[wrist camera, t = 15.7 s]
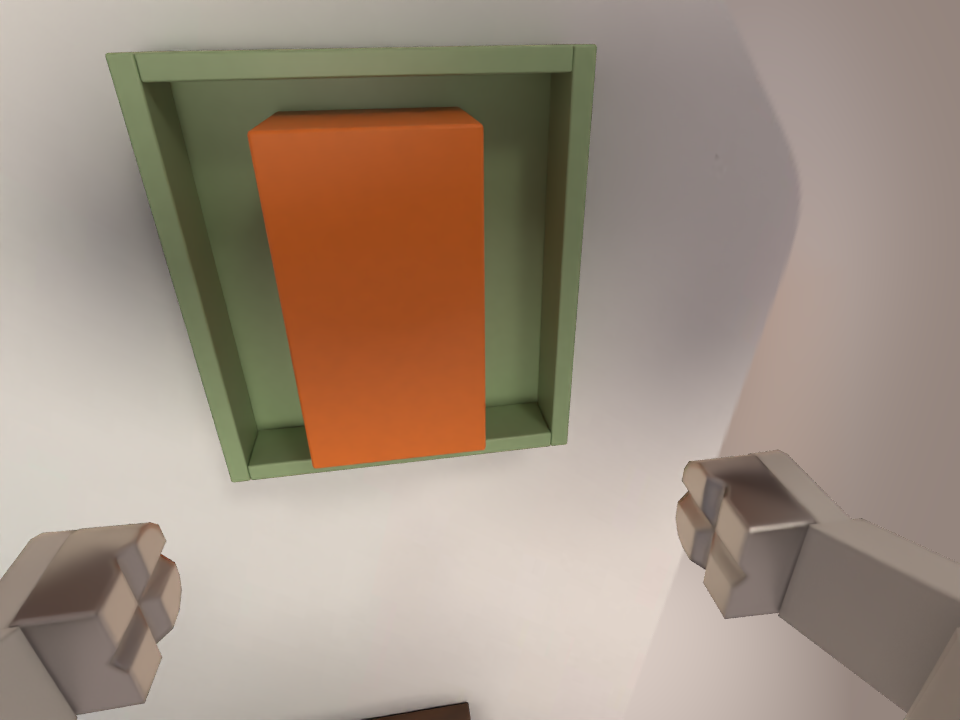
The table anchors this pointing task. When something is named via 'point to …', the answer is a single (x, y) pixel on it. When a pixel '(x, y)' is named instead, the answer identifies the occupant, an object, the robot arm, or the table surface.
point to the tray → (244, 244)
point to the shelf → (435, 714)
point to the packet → (379, 276)
